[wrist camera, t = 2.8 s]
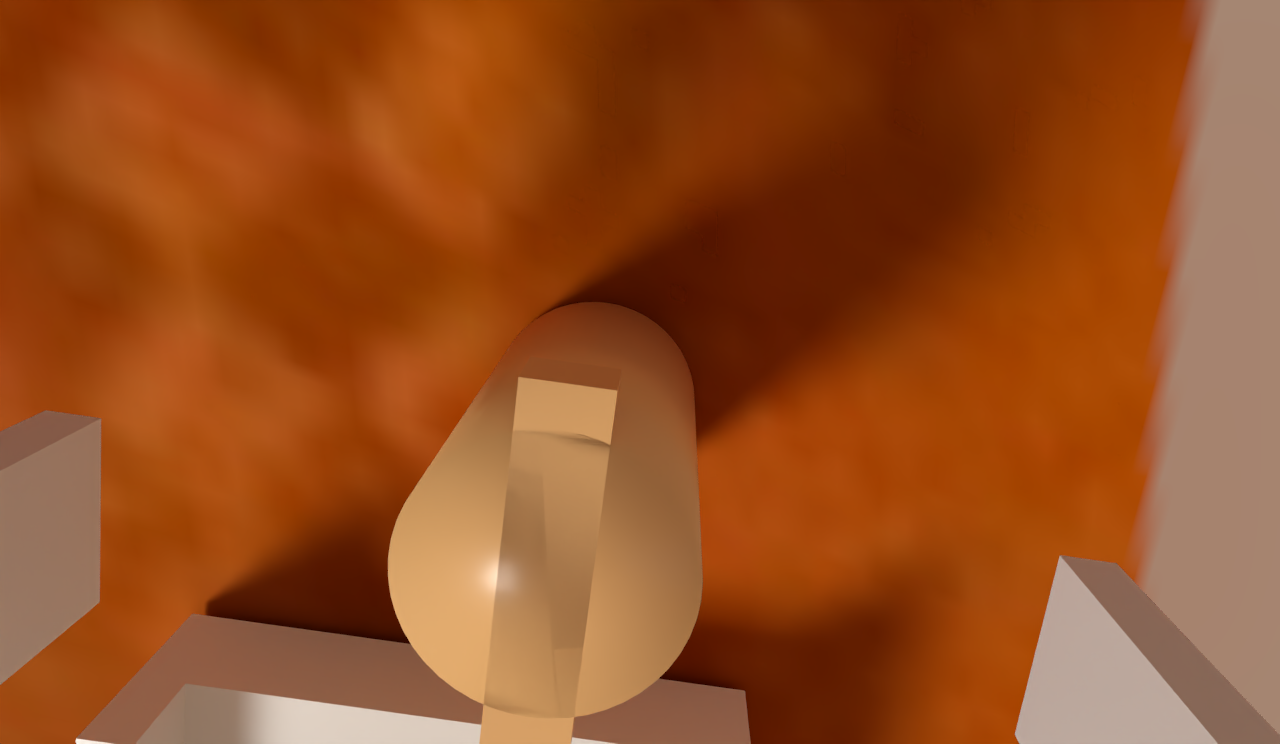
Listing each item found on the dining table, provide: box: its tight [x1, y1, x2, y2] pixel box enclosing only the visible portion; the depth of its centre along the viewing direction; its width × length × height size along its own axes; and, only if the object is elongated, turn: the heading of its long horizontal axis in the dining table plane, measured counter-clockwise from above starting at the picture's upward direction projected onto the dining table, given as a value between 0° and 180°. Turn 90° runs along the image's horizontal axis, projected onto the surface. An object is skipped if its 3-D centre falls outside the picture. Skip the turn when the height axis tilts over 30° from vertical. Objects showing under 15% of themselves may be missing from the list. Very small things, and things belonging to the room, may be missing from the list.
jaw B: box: [388, 302, 703, 744], centre depth 17 cm, size 5×4×8 cm
